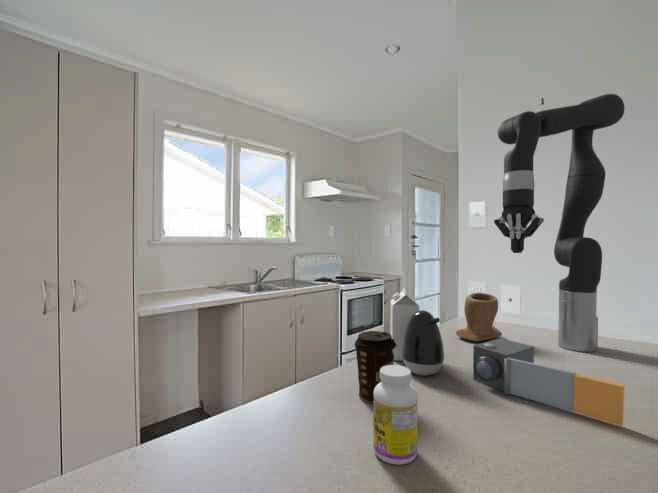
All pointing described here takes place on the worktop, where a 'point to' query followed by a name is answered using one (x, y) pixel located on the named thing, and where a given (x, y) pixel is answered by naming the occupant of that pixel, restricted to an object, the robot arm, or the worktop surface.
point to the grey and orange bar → (565, 390)
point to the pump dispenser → (423, 344)
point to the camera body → (497, 360)
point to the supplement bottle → (395, 416)
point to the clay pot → (480, 317)
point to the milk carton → (400, 319)
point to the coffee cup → (372, 360)
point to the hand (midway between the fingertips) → (517, 252)
